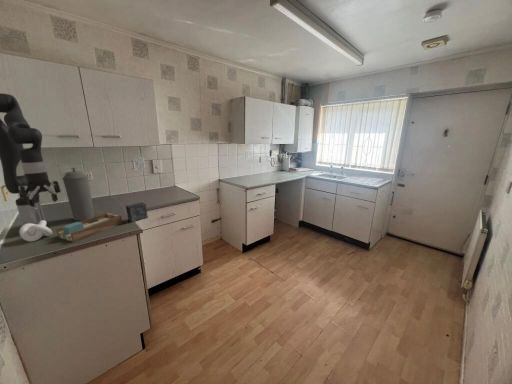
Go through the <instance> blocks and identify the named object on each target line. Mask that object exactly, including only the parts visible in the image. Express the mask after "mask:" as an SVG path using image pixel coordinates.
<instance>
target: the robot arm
mask: <svg viewBox="0 0 512 384" xmlns="http://www.w3.org/2000/svg"><path fill="white" fill-rule="evenodd" d="M0 113H1V114H2V113H3V114H4V117H3V120H4V121H3V120H2V119H1V118H0V163H1V168H2V174H3V181H4V185H5V188H6V190H7V191H8V192H9V193H10V194H13V195H14V194H15V195H16V194H19V198H16V200H15V204H16V209H17V212H18V214H19V218H20V221H21V224H22V226H23V225H25V224H28V223H32V224H38V223H39V222H40V221H42V220H45V221H46V219H45V215H44V212H43V208H42V204H41V201H40V193H44V192H48V193H50V195H51V201H52V202H54V203H55V202H58V194H59V193H61V188H60V185H59V181H57V180H51V181H50V180H49V176H48V171H47V168H46V165H45V163H44V160H43V159H44V158H43V156H42V143H43V141H42V140H43V134H42V132H41V131H40V130H39V129H37V128H35V127H34V128H33V127H31V125H30V124H29V122H28V121H27V120H26V119H25V117H24V115H23V111H22V109H21V106H20V104H19V102H18V100H17V98H16V97H15V96H14V95H11V94H10V93H0ZM24 145H31V147H29V148H24ZM20 162H21V167H22V171H23V175H17V168H18V165H19V163H20ZM51 185H52V186H53V189H52V188H51ZM46 227H48V226H47V224H46ZM28 230H29V229H28Z"/></svg>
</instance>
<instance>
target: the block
mask: <svg viewBox="0 0 512 384" xmlns="http://www.w3.org/2000/svg"><path fill="white" fill-rule="evenodd" d="M62 227H63V230H64V233H65V234H69V235H70V234H71V233H73V232H75V231H78V230H81V229H84V227H83V223H80V221H75V222H72V223H70V224H66V225H63V226H62Z"/></svg>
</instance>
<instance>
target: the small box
mask: <svg viewBox="0 0 512 384" xmlns="http://www.w3.org/2000/svg"><path fill="white" fill-rule="evenodd" d="M125 209H126V214H127V220H128V221H129V222H130V223H135V222H138V221H141V220H145V219H148V218H149V217H148V211H147V205H146V203H144V202H137V203H133V204H129V205H125Z"/></svg>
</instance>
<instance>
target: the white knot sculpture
mask: <svg viewBox="0 0 512 384" xmlns="http://www.w3.org/2000/svg"><path fill="white" fill-rule="evenodd" d="M46 225H47V221H46V219H45V220H42V221H40V222H39V223H38V224H32V223H28V224H25V225H23V224H22V226H21V227H20V228H19V230H18V231H19V232H18V233H19V236H20V237H21V238H22V239H23V240H24V241H26V242H37V241H39V240H40V239H41V238H42V237H43V236H44V237H50V236H52V235H53V231H52V229H51V228H49V227H48V226H47V227H46ZM28 229H29V230H28Z"/></svg>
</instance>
